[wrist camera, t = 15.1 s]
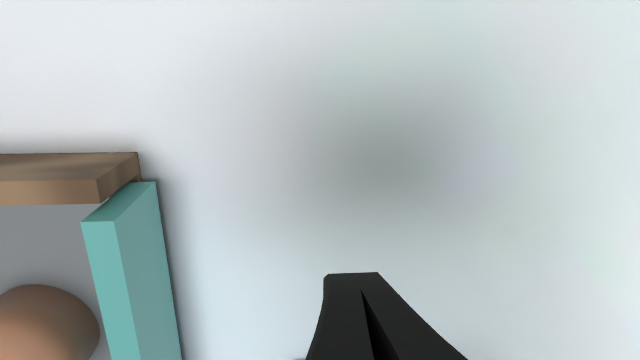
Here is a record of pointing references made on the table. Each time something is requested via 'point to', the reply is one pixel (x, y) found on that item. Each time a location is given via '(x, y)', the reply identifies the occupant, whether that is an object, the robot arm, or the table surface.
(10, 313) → the tan short cylinder
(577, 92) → the table surface
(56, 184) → the housing
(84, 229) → the tray
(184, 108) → the table surface
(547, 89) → the table surface
